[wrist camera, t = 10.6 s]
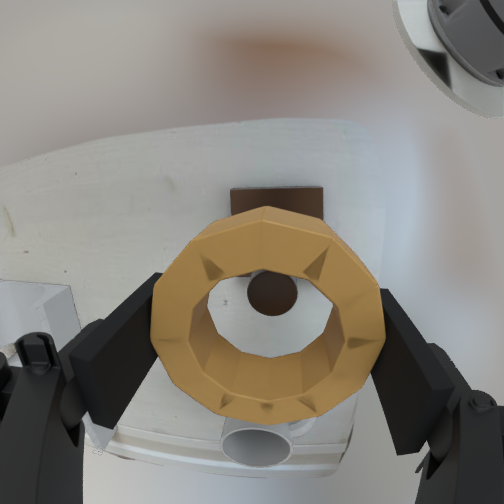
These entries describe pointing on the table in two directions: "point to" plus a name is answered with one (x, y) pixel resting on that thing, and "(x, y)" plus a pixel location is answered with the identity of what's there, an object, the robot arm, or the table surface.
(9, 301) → the skate ramp
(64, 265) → the table surface
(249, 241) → the tape roll
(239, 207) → the stand
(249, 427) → the cup
